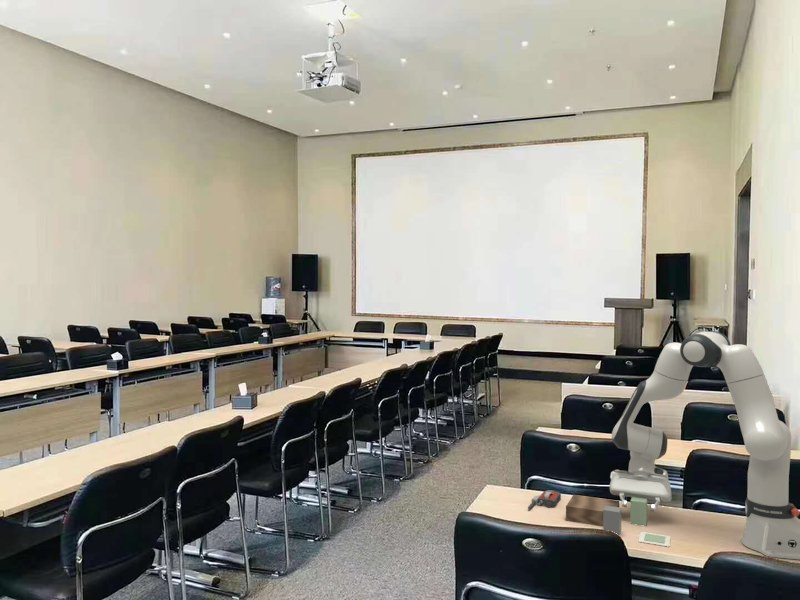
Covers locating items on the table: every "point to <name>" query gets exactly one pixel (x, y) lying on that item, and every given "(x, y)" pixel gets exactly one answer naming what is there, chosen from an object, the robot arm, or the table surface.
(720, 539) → the table surface
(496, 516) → the table surface
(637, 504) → the sage block
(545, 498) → the walkie-talkie
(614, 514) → the grey block
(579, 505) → the walnut plinth
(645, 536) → the swatch
